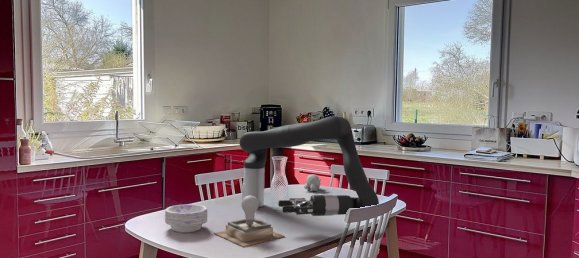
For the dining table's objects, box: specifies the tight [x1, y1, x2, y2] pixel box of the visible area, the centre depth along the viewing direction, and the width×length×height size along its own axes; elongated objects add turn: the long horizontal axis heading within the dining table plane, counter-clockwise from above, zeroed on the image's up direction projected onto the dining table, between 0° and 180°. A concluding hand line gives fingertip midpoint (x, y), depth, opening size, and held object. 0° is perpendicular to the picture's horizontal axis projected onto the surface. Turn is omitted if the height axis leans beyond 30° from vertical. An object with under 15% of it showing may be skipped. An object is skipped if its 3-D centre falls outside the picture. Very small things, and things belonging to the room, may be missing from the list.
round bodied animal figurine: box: [303, 173, 322, 192], centre depth 247 cm, size 7×12×8 cm, turn 148°
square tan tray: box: [213, 217, 286, 248], centre depth 169 cm, size 18×18×4 cm
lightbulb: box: [240, 195, 259, 226], centre depth 168 cm, size 6×6×11 cm
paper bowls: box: [164, 203, 208, 233], centre depth 175 cm, size 15×15×8 cm
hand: (280, 206), depth 170 cm, fingers open, 8 cm apart
